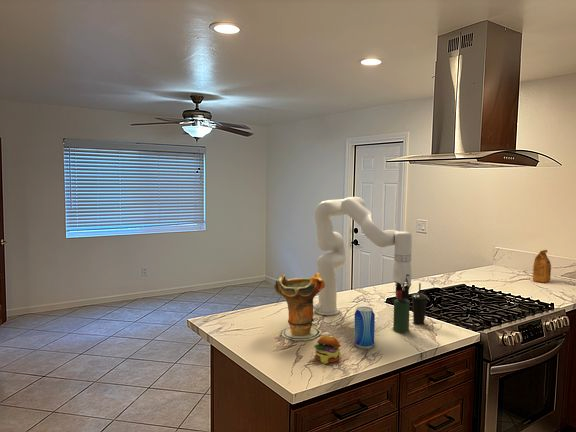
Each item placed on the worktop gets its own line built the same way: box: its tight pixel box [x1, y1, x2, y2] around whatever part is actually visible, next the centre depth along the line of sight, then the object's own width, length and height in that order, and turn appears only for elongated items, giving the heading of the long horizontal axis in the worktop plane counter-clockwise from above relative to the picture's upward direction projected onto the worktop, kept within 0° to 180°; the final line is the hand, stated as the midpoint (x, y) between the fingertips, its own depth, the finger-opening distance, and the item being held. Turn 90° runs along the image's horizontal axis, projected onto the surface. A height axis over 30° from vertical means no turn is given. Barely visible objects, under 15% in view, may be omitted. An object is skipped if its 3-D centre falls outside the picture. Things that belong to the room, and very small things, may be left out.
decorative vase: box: [273, 272, 325, 341], centre depth 188 cm, size 21×23×28 cm
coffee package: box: [532, 249, 552, 283], centre depth 288 cm, size 10×12×22 cm
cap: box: [395, 290, 409, 300], centre depth 192 cm, size 5×5×3 cm
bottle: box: [392, 298, 411, 334], centre depth 193 cm, size 7×7×18 cm
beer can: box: [353, 306, 376, 350], centre depth 175 cm, size 8×8×16 cm
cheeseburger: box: [313, 335, 342, 364], centre depth 163 cm, size 10×11×10 cm
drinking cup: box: [411, 282, 429, 326], centre depth 203 cm, size 8×8×20 cm
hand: (402, 296), depth 193 cm, fingers closed on cap, 5 cm apart
